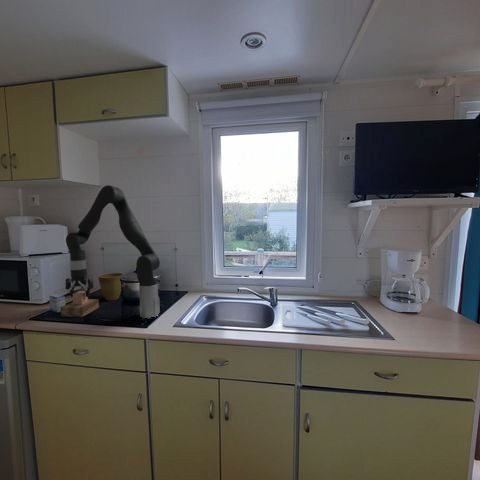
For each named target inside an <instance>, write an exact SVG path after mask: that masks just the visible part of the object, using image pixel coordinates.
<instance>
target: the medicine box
mask: <svg viewBox="0 0 480 480" xmlns="http://www.w3.org/2000/svg"><path fill="white" fill-rule="evenodd" d="M65 305H66V296H65V295H63V294H59V293H56V294H50V295H49V310H50V311H51V312H55V313H61V307H62V306H65Z"/></svg>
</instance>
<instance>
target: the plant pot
mask: <svg viewBox="0 0 480 480" xmlns="http://www.w3.org/2000/svg"><path fill="white" fill-rule="evenodd" d="M122 275H124V276H125V274H124V273H122V272H111V273H102V274H100V275H98V276H97V278H98V283H99V287H100V290H101V292H102V295H103V298H104V299H105V301H116V300H118V299H119V297H120V294H121V292H122V289H121V282H120V277H121V276H122Z"/></svg>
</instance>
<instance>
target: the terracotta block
mask: <svg viewBox="0 0 480 480" xmlns="http://www.w3.org/2000/svg"><path fill="white" fill-rule="evenodd" d="M85 291H86V290H85ZM85 291H81V290H79V291H77V292H75V293H74V294H73V297H72V302H73V305H82V304H84V303H86V302H88V299H89V297H86V293H85Z"/></svg>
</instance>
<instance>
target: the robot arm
mask: <svg viewBox="0 0 480 480" xmlns="http://www.w3.org/2000/svg"><path fill="white" fill-rule="evenodd" d="M109 204H111V205H112V206H113V207H114V208H115V211H116V212H117V214H118V225H119V228H120V230H121V233H122V234H123V236H124V237H125V239H126V240H127V241H128V242H130V244H132V245H133V246H134V247H135V248H136V249H137V250H138V251H139V253H140V256H139V257H138V258H137V259H136V265H135V266H136V278H137V281H138V283H139V285H138V286H139V312H140V313H139V314H140V315H139V317H140V318H141V317H142V319H145V318H147V319H152V318H151V317H155V318H157V317H156V316H157V315H158V314H159V313H160V312H161V309H160V308H161V305H160V296H159V289H158V287H159V285H158V283H159V281H158V278H157V277H155V276H154V272H153V271H155V270H157V269H159V267H160V265H161V262H160V258H159V256H158V254H157V253H156V251H155V250H154V249H153V247H152V245H150V243H149V240H148V239H147V237H146V235H145V234H144V232H143V230H142V228H141V226H140V224H139V222H138V219H136V217H135V215H134V213H133V211H132V210H131V207H130V206H129V203H128V201H127V198H126V196H125V193H124V191H123V190H122V189H120V188H119V187H116V186H113V185H108V184H107V185H104V186H103V187H102V188H101V189H100V190H99V192H98V194H97V196H96V198H95V200H94V201H93V204H92V206H91V207H90V209H89V210H88V212H87V213H86V215H85V216H84V217H83V218H82V220H81V221H80V222H79V224H78V226H77V228H78V229H79V230H78V231H77V232H75V231H74V232H69V233H68V234H67V235H66V238H65V243H66V246H67V249H68V252H69V259H70V261H69V262H70V263H69V268H70V277H67V278H66V279H65V290H69V296H70V297H71V298H73V294H74V293H76V292H75V291H76V290H75V288H76V287H82V288H83V289H84V290H85V293H86V297H88V298H89V297H90V296H91V290H92V289H94V280H93V277H91V278H90V277H89V278H87V276H88V270H87V260H86V251H85V249H82V248H81V246H80V245H84V244H85V243H86V242H88V240H89V238H90V237H91V234H92V232H93V230H95V228H97V225H98V224H99V222H100V220H101V216H102V213H103V210H104V209H105V208H106V207H107V205H109ZM160 314H161V313H160ZM160 314H159V315H160ZM159 315H158V316H159Z"/></svg>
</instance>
